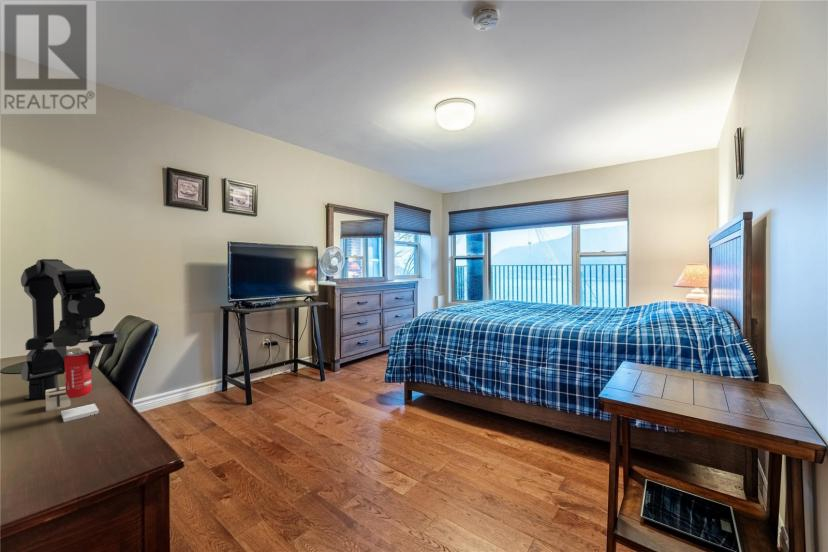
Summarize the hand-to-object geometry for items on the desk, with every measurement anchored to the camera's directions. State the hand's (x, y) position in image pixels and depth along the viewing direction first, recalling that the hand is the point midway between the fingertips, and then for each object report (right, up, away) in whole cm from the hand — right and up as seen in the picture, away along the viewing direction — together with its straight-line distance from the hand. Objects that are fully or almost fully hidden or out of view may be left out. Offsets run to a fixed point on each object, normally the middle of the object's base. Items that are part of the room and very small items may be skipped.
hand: (78, 370), depth 97 cm
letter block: (-11, -12, +6) cm, 18 cm away
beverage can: (0, -7, 0) cm, 7 cm away
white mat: (0, -12, +1) cm, 12 cm away
